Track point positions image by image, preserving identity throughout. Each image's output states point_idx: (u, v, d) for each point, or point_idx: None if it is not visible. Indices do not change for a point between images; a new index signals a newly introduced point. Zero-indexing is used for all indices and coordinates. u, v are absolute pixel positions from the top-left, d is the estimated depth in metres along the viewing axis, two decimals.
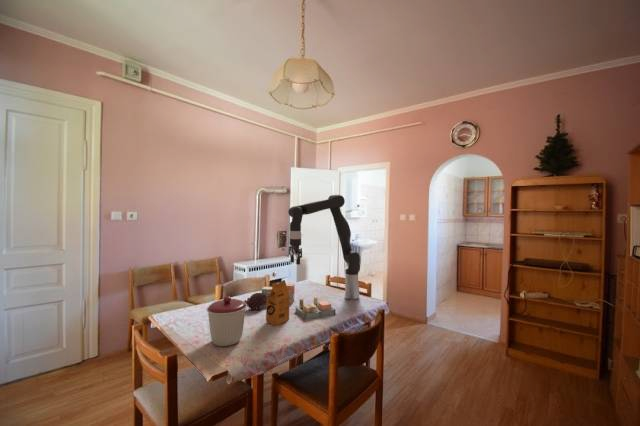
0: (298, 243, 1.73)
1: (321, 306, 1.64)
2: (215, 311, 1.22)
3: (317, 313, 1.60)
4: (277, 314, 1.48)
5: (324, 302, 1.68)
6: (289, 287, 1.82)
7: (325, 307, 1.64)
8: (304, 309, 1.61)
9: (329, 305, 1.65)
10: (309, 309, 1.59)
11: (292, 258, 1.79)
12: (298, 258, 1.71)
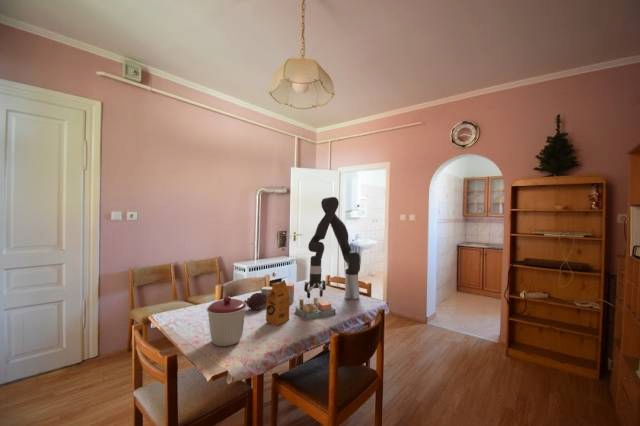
0: None
1: (321, 306, 1.64)
2: (215, 311, 1.22)
3: (317, 313, 1.60)
4: (277, 314, 1.48)
5: (324, 302, 1.68)
6: (289, 287, 1.83)
7: (325, 307, 1.64)
8: (304, 309, 1.61)
9: (329, 305, 1.65)
10: (309, 309, 1.59)
11: None
12: None
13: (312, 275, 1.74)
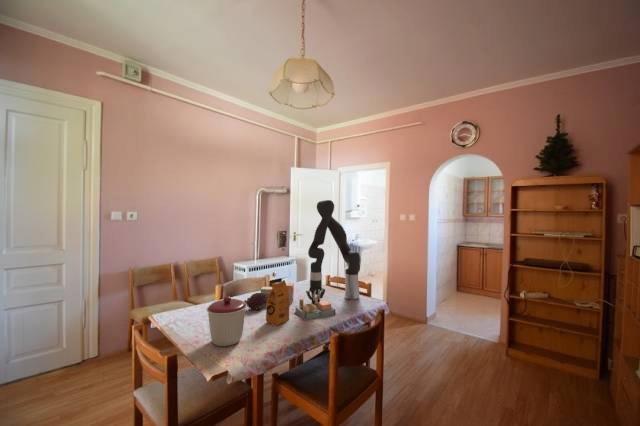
0: None
1: (321, 306, 1.64)
2: (215, 311, 1.22)
3: (317, 313, 1.60)
4: (277, 314, 1.48)
5: (324, 302, 1.68)
6: (288, 287, 1.83)
7: (325, 307, 1.64)
8: (304, 309, 1.61)
9: (329, 305, 1.65)
10: (309, 309, 1.59)
11: None
12: (319, 298, 1.78)
13: (312, 281, 1.74)
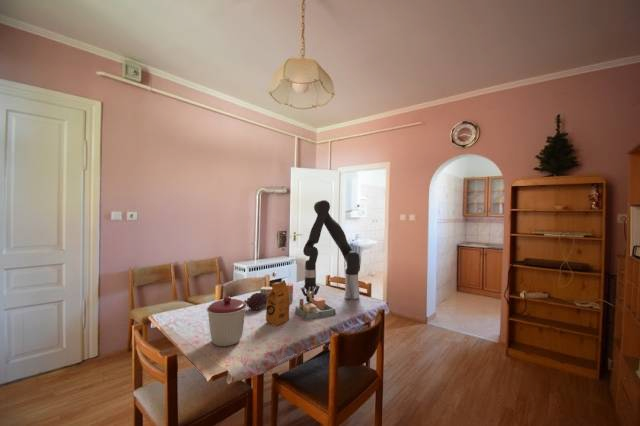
0: None
1: (315, 302, 1.71)
2: (215, 311, 1.22)
3: (317, 313, 1.60)
4: (277, 314, 1.48)
5: (318, 298, 1.75)
6: (288, 287, 1.83)
7: (319, 303, 1.71)
8: (304, 309, 1.61)
9: (323, 301, 1.72)
10: (309, 309, 1.59)
11: None
12: None
13: (307, 279, 1.81)
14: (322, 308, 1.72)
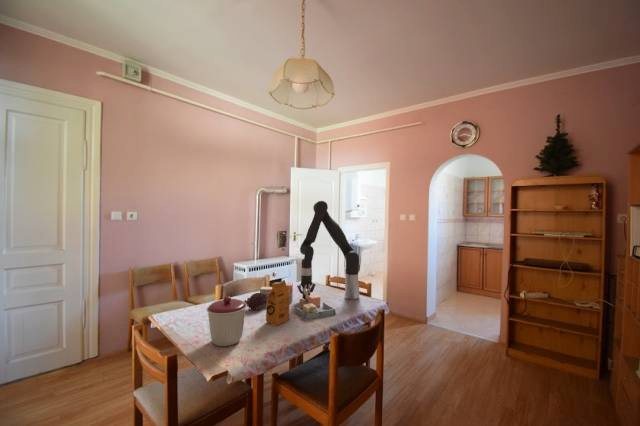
0: None
1: (310, 299, 1.77)
2: (215, 311, 1.22)
3: (317, 313, 1.60)
4: (277, 314, 1.48)
5: (313, 295, 1.81)
6: (288, 287, 1.83)
7: (314, 300, 1.76)
8: (304, 309, 1.61)
9: (318, 298, 1.78)
10: (309, 309, 1.59)
11: None
12: (310, 292, 1.91)
13: (303, 277, 1.87)
14: (317, 305, 1.77)
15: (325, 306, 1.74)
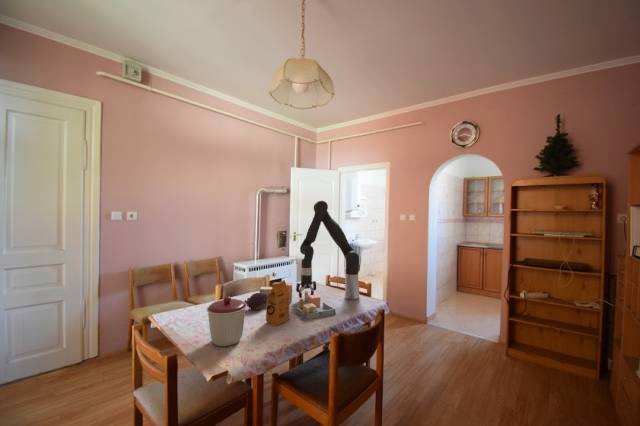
0: None
1: (310, 299, 1.77)
2: (215, 311, 1.22)
3: (317, 313, 1.60)
4: (277, 314, 1.48)
5: (313, 295, 1.81)
6: (288, 286, 1.84)
7: (314, 300, 1.76)
8: (304, 309, 1.61)
9: (318, 298, 1.78)
10: (309, 309, 1.59)
11: None
12: (313, 290, 1.92)
13: (303, 276, 1.87)
14: (317, 305, 1.77)
15: (325, 306, 1.74)
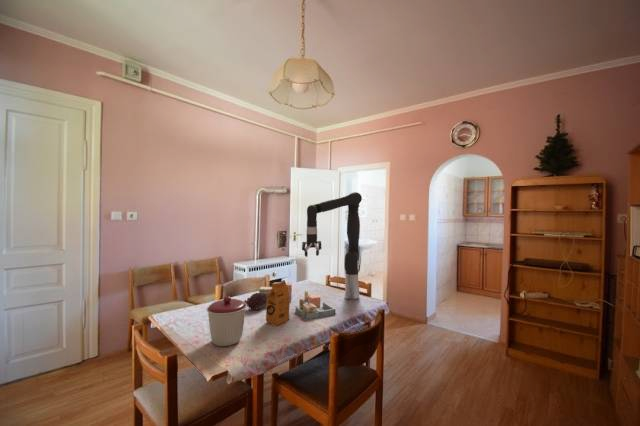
0: None
1: (310, 299, 1.77)
2: (215, 311, 1.22)
3: (317, 313, 1.60)
4: (277, 314, 1.48)
5: (313, 295, 1.81)
6: (287, 286, 1.84)
7: (314, 300, 1.76)
8: (304, 309, 1.61)
9: (318, 298, 1.78)
10: (309, 309, 1.59)
11: None
12: None
13: (309, 235, 1.92)
14: (317, 305, 1.77)
15: (325, 306, 1.74)
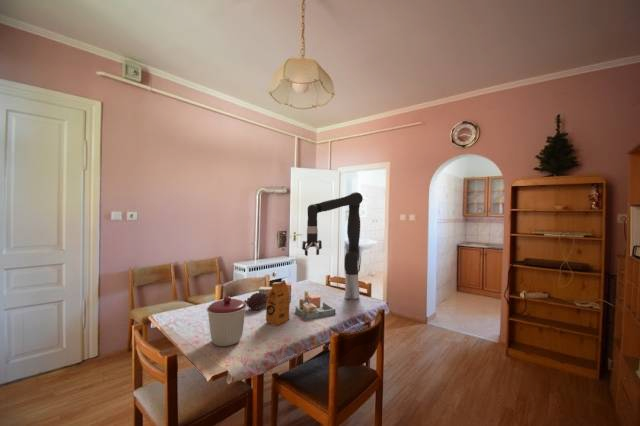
0: None
1: (310, 299, 1.77)
2: (215, 311, 1.22)
3: (317, 313, 1.60)
4: (277, 314, 1.48)
5: (313, 295, 1.81)
6: (287, 286, 1.84)
7: (314, 300, 1.76)
8: (304, 309, 1.61)
9: (318, 298, 1.78)
10: (309, 309, 1.59)
11: None
12: None
13: (309, 234, 1.92)
14: (317, 305, 1.77)
15: (325, 306, 1.74)
